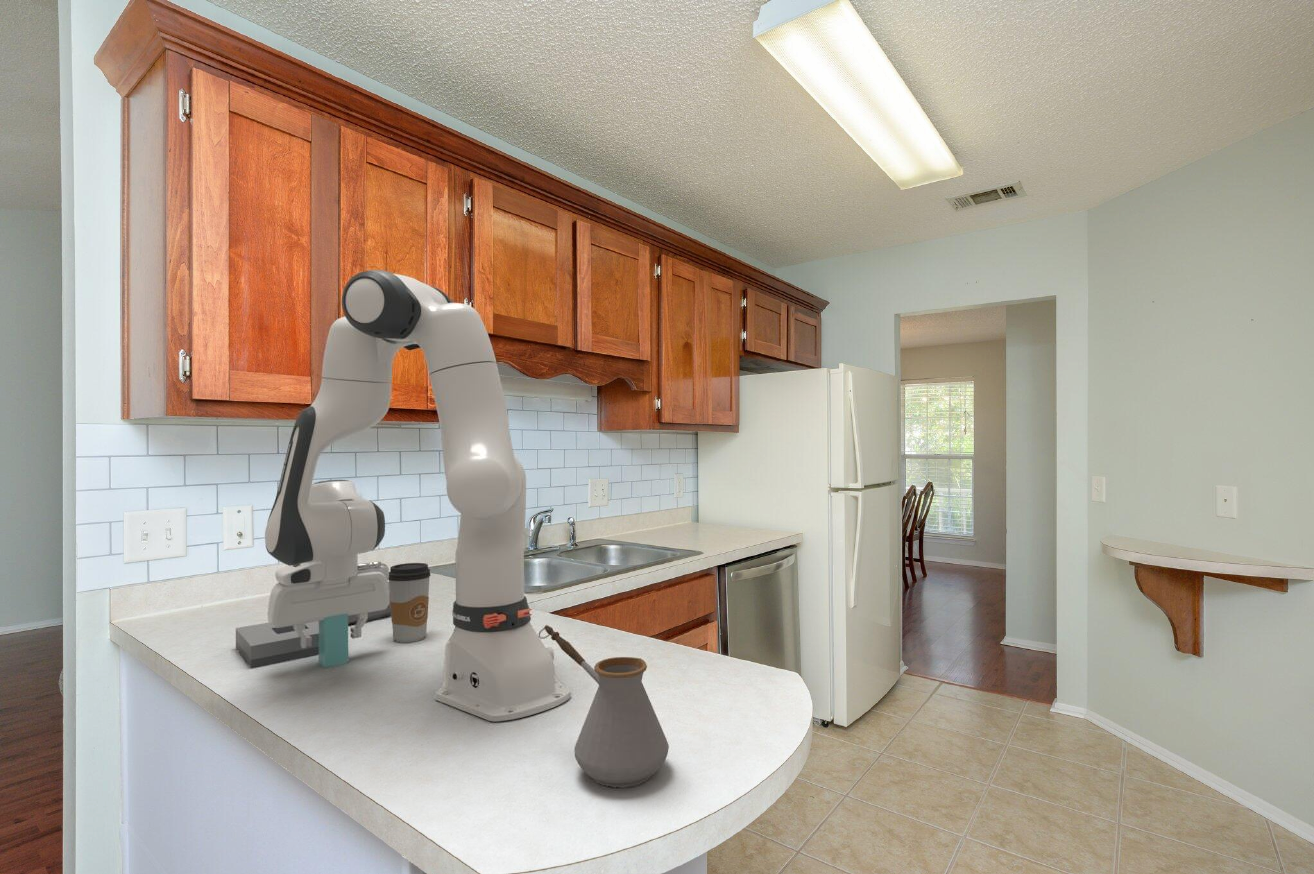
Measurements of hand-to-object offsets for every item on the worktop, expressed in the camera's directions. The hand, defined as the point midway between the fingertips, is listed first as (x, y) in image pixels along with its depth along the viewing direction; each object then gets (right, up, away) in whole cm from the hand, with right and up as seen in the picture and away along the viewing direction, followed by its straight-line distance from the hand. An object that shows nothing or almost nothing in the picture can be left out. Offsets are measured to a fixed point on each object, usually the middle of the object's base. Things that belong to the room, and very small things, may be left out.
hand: (331, 642), depth 119 cm
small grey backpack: (-10, -5, +32) cm, 34 cm away
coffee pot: (+52, -3, -38) cm, 65 cm away
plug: (0, -4, 0) cm, 4 cm away
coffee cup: (+9, -4, +15) cm, 18 cm away
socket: (-13, -4, +9) cm, 16 cm away
